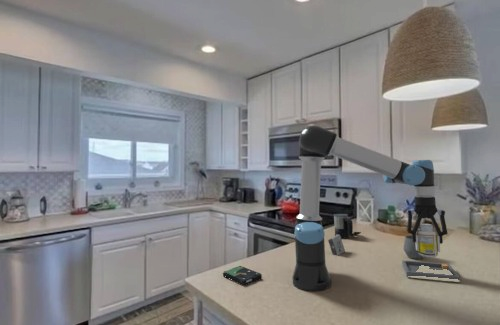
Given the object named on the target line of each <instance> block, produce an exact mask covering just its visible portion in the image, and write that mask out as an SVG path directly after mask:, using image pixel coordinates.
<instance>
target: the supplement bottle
mask: <svg viewBox="0 0 500 325" xmlns="http://www.w3.org/2000/svg"><path fill="white" fill-rule="evenodd" d="M434 229H435V227H434V225H433V224H430V223H420V224H419V227H418V230H417V232H416V234H417V235H418V244H419V251H418V252H419V254H420V255H421V256H423V257H427V258H437V257H438V256H439V254H438V253H439V252H438V250H437V235H438V233H437V231H436V230H434Z"/></svg>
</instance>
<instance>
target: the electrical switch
mask: <svg viewBox="0 0 500 325" xmlns="http://www.w3.org/2000/svg"><path fill="white" fill-rule="evenodd" d="M327 241H328V243H329V247H330V250H331V253H332V255H336V256H340V255H342V254H343V253H344V252H346V251H345V250H346V249H345V246H344V243H343V240H342V239H341V236H340V235H337V236H335V235H334V236H332V237H331V238H330V239H328V240H327Z"/></svg>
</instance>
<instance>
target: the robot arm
mask: <svg viewBox="0 0 500 325" xmlns="http://www.w3.org/2000/svg"><path fill="white" fill-rule="evenodd" d="M326 156H327V157H330V156H333V157H335V158H338V159H341V160H344V161H347V162H349V163H350V164H351V163H352V164H354V165H357V166H359V167H362V168H364V169H367V170H368V171H369V170H370V171H371V172H374V173H377V174H379V175H382V179H383V181H384V183H385V184H392V185H393V184H403V185H409V186H413V191H414V192H413V193H414V194H413V195H414V208H413V209H407V210H406V212H407V227H406V232H407V233H409V234H411V236H412V240H413V242H415V244H416V250H417V251H419V244H418V235H417V231H418V230H419V224H421V222H422V220H423V219H430V221H431V223H432V225H433V228H434V229H435V231H436V234H437V250H438V253H440V252H441V244H442V245H443V242H444V241H443V236H445V235H446V236H447V235H448V229H447V224H446V223H447V222H446V219H445V214H446V211H445V210H443V209H438V208H437V206H436V203H437V202H436V197H435V196H436V190H435V169H434V163H433V162H434V161H433V160H430V159H420V160H417V159H416V160H413V161H412V163H411V164H410V163H408V162H405V161H401V160H399V159H396V158H394V157H391V156H388V155H386V154H383V153H380V152H378V151H376V150H372V149H371V148H367V147H365V146H362V145H360V144H357V143H354V142H352V141H349V140H346V139H344V138H341V137H339V134H338V133H336V132H332V131H331V130H328V129H326V128H323V127H322V126H318V125H310V126H307V127H305V128H303V130H302V131H301V132H300V135H299V138H298V158H299V160H300V161H301V173H300V174H301V176H300V194H299V195H300V197H299V200H300V201H299V214H297V215H296V216H295V227H294V234H293V235H294V239H295V240H294V244H295V246H294V247H295V266H294V270H293V272H292V273H293V274H292V285H293V286H294V287H296V288H298V289H301V290H305V291H310V292H316V291H317V292H320V291H323V290H324V291H325V290H327V289H329V288H330V287H331V285H332V282H331V281H332V279H331V276H330V273H329V270H328V267H327V265H326V251H325V250H326V249H325V247H326V246H325V236H326V235H325V230H324V227H323V217H321V216H320V200H321V199H320V197H321V196H320V193H321V171H322V170H321V169H322V161H323V160H324V159H325V158H326ZM414 213H415V214H416V215H417V217H416V219H415V222H414V225H413V228H412V224H413V222H412V221H413V215H414ZM436 214H438V216H439V221H440V224H441V225H440V226H441V229H440V227H439V225H438V223H437V219H436V218H435V215H436Z"/></svg>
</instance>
